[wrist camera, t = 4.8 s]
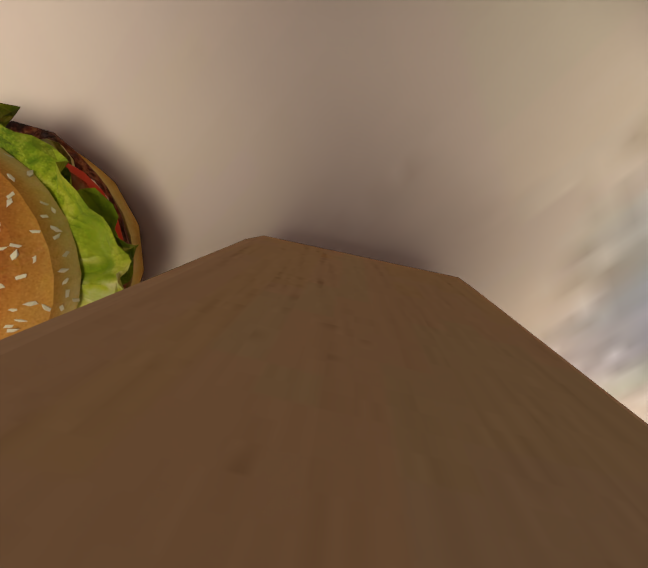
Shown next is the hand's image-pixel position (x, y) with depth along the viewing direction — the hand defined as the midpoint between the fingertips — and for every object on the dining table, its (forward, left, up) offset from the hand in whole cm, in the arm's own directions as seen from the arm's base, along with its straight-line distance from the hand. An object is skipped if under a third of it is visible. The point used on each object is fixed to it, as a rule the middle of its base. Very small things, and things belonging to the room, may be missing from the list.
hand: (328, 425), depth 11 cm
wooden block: (0, 0, -5) cm, 5 cm away
